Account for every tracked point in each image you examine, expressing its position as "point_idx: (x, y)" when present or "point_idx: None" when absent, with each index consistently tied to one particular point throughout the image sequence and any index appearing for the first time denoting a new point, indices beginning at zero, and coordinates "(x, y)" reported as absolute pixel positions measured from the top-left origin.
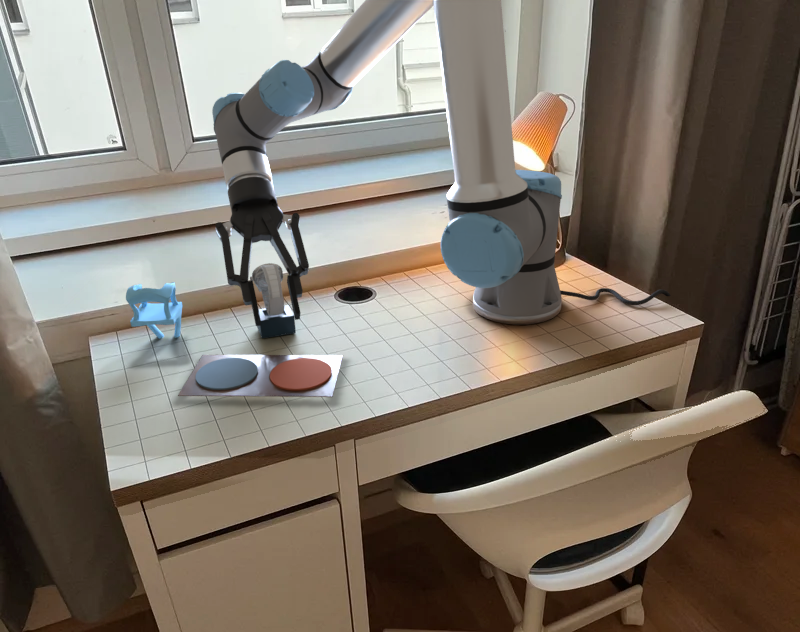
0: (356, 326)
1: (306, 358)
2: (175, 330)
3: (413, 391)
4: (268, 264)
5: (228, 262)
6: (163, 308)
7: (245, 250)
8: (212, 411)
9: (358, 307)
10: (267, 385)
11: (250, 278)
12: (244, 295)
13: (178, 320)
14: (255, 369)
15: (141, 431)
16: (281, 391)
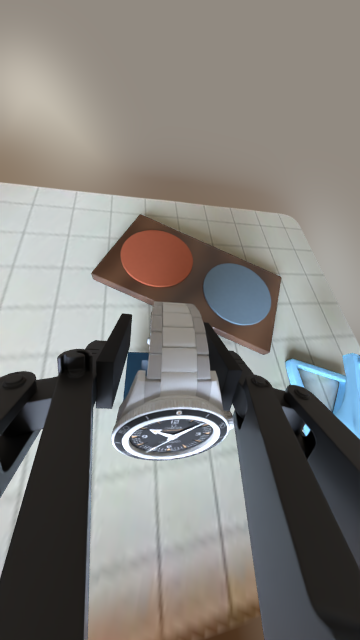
0: None
1: (141, 280)
2: None
3: (55, 203)
4: (174, 402)
5: (349, 442)
6: None
7: (313, 510)
8: (245, 257)
9: None
10: (196, 254)
11: (231, 415)
12: (238, 360)
13: (339, 409)
14: (206, 283)
15: (296, 258)
16: (185, 240)
